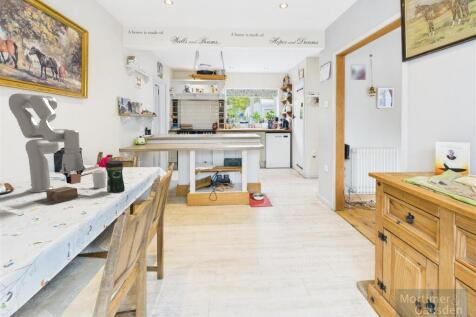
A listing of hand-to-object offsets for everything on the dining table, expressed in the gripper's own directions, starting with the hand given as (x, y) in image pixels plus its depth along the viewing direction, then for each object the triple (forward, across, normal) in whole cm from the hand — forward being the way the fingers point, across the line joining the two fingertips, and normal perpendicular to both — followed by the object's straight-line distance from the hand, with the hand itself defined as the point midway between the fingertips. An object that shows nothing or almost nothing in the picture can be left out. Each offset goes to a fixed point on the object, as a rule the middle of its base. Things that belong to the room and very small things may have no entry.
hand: (73, 182), depth 162 cm
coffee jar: (+6, -14, +18) cm, 24 cm away
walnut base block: (+5, +14, +12) cm, 19 cm away
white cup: (+7, -18, -2) cm, 20 cm away
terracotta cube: (+1, 0, 0) cm, 1 cm away
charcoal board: (+6, +14, +12) cm, 20 cm away
